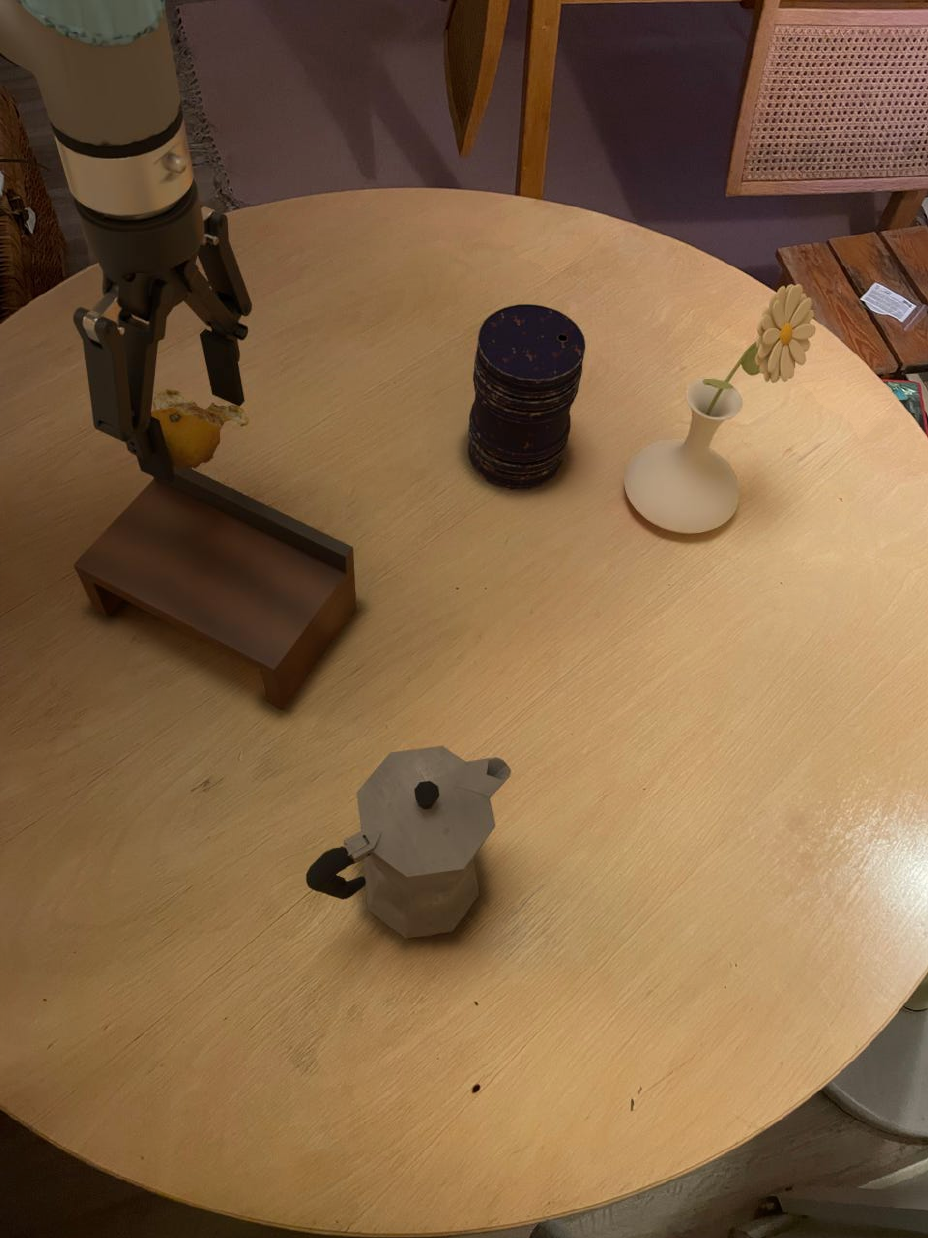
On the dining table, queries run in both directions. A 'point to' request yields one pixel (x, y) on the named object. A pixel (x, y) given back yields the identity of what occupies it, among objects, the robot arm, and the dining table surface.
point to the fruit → (192, 427)
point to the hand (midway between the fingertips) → (194, 434)
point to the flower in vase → (689, 469)
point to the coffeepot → (417, 839)
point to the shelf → (226, 575)
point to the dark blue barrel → (523, 395)
